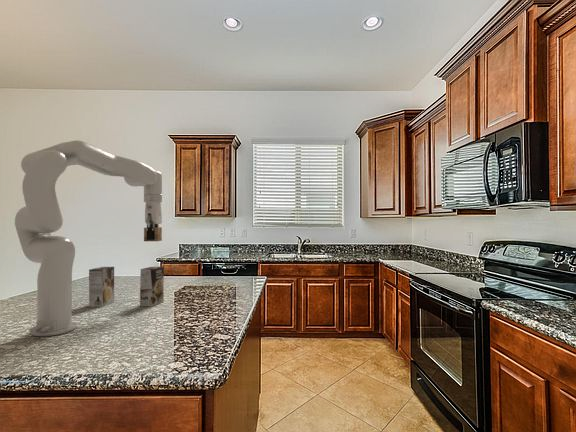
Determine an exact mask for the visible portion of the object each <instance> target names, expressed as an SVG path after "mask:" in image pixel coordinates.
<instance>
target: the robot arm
mask: <svg viewBox="0 0 576 432" xmlns="http://www.w3.org/2000/svg"><path fill="white" fill-rule="evenodd" d="M70 166H81V167H84V168H86V169H87V170H88V169H89V170H90V171H94V172H96V173H98V174H101V175H103V176H110V177H119V178H120V177H123V179H124V183H126V184H127V185H129V186H131V187H143V203H145V206H144V207H145V210H144V223H145V224H146V228H147V240H154V239H155V231H154V227H160V225H161V224H163V220H162V219H163V217H162V203H163V174H162V172H160V171H157V170H155V169H153V168H152V167H150V166H149V165H146V163H143V162H140V161H138V160H134V159H131V158H126V157H123V156H121V155H115V154H113V153H110V152H107V151H105V150H103V149H102V148H99V147H97V146H95V145H92V144H89V143H88V142H86V141H83V140H78V139H77V140H70V141H65V142H61V143H58V144H55V145H52V146H49V147H46V148H43V149H41V150H37V151H34V152H30V153H28V154H26V155H25V156H24V157H23V158H22V159H21V162H20V167H21V170H22V172H24V176H23V179H22V183H21V184H22V189H21V190H22V194H23V195H22V196H23V199H24V204H25V206H23V207H22V208H20V209H18V211H17V212H16V213H15V217H14V227H15V231H16V233H17V237H18V240H19V244H20V247H21V250H22V252H23V254H24V256H25V258H26V259H28V261H31V262H32V263H35V264H40V266H39V269H38V273H37V278H36V281H37V284H36V285H37V288H36V289H37V292H36V293H37V294H36V295H37V296H36V325H35V326H33V327H31V328H30V329H29V331H28V332H29V333H30V334H31V336H35V337H50V336H58V335H62V334H65V333H69V332H72V331H74V330H75V329H76V328H77V327H78V325H77V322H75V321H72V310H73V309H72V308H73V307H72V305H73V302H72V301H73V300H72V299H73V286H72V285H73V278H72V277H73V266H74V261H75V257H76V246H75V245H74V243H73V241H71V239H69V238H67V237H65V236H60V235H52V234H51V233H56V232H58V231H59V230H60V229H61V228H62V226H63V223H64V222H63V221H64V219H63V216H62V212H61V208H60V205H59V201H58V197H57V192H56V183H57V181H58V179H59V178H60V176H61V175H62V174H63V173H64V172H65V171H66V169H67V167H70Z"/></svg>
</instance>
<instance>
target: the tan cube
mask: <svg viewBox="0 0 576 432" xmlns="http://www.w3.org/2000/svg"><path fill="white" fill-rule="evenodd" d="M162 229H163V227H160V226H159V227H154V231H155V239H154V240H147V227H143V242H162V241H163V240H162V239H163V236H162V235H163V234H162V233H163V230H162Z"/></svg>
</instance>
